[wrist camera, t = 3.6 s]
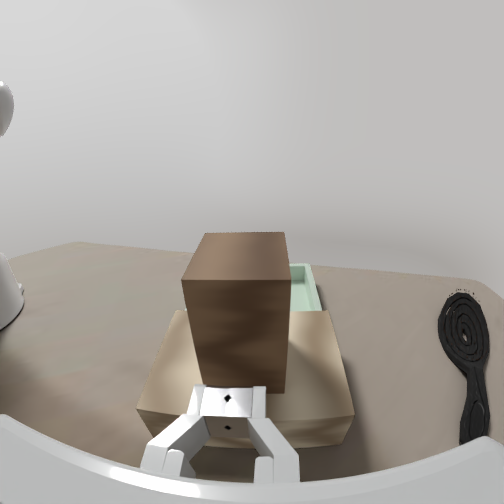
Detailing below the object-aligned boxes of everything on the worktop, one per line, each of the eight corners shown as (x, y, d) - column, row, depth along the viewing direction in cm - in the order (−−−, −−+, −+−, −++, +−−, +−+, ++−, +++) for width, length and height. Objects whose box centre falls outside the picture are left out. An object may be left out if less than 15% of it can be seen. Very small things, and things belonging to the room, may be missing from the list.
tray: (186, 335, 33) (182, 316, 32) (205, 281, 45) (203, 264, 43) (320, 336, 32) (323, 316, 31) (308, 280, 44) (309, 263, 43)
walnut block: (204, 391, 20) (181, 279, 15) (217, 333, 26) (205, 233, 22) (284, 393, 19) (291, 279, 15) (281, 333, 26) (284, 232, 21)
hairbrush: (445, 442, 15) (441, 282, 34) (427, 459, 16) (435, 303, 36) (515, 444, 11) (488, 292, 30) (494, 461, 13) (479, 311, 32)
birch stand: (154, 438, 20) (135, 408, 18) (183, 344, 32) (175, 310, 29) (341, 444, 19) (355, 415, 17) (322, 345, 31) (328, 310, 29)
